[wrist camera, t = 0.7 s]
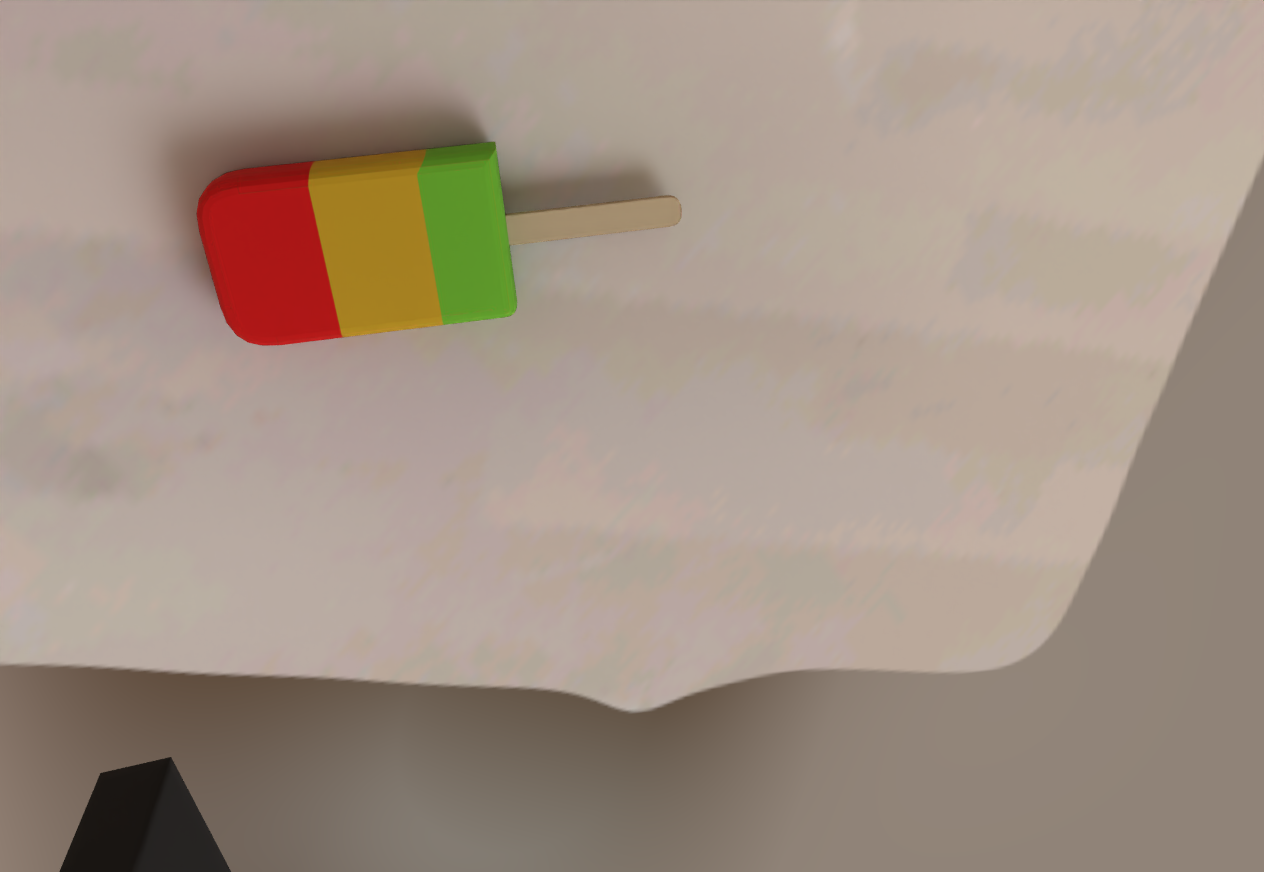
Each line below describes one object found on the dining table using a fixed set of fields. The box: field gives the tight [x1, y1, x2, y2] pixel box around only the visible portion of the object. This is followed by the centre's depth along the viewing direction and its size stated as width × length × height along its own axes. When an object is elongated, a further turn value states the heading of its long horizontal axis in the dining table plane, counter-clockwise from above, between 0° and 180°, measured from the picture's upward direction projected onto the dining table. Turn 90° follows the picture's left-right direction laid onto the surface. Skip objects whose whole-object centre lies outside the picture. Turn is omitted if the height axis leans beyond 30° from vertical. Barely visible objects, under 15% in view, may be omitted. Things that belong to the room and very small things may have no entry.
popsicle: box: [197, 142, 682, 345], centre depth 33 cm, size 6×15×2 cm, turn 94°
